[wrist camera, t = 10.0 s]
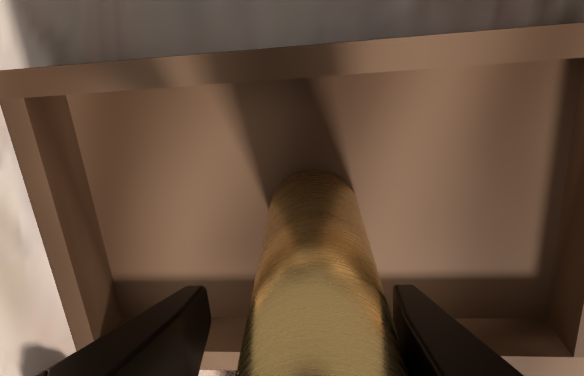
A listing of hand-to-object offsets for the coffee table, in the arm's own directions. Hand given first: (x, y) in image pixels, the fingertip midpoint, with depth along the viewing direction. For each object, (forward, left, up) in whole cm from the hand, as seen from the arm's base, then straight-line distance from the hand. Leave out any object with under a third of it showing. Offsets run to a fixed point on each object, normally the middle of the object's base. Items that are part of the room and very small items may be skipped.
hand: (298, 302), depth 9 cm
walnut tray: (0, 0, -6) cm, 6 cm away
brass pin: (0, 0, -5) cm, 5 cm away
